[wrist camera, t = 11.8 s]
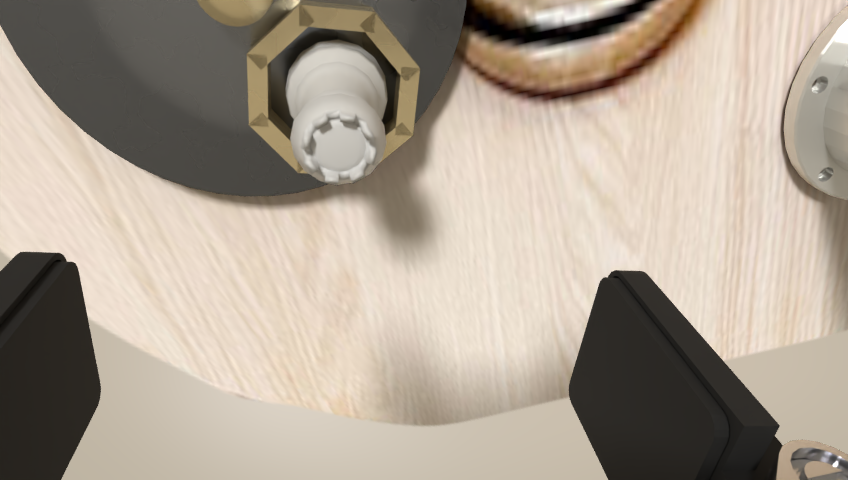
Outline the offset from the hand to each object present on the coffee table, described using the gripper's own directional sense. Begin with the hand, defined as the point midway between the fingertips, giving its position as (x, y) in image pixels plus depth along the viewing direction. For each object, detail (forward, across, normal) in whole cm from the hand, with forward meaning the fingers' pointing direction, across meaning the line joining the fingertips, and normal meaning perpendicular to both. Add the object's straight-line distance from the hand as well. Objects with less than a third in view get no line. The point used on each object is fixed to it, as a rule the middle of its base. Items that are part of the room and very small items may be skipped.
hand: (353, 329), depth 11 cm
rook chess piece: (+18, 0, 0) cm, 18 cm away
